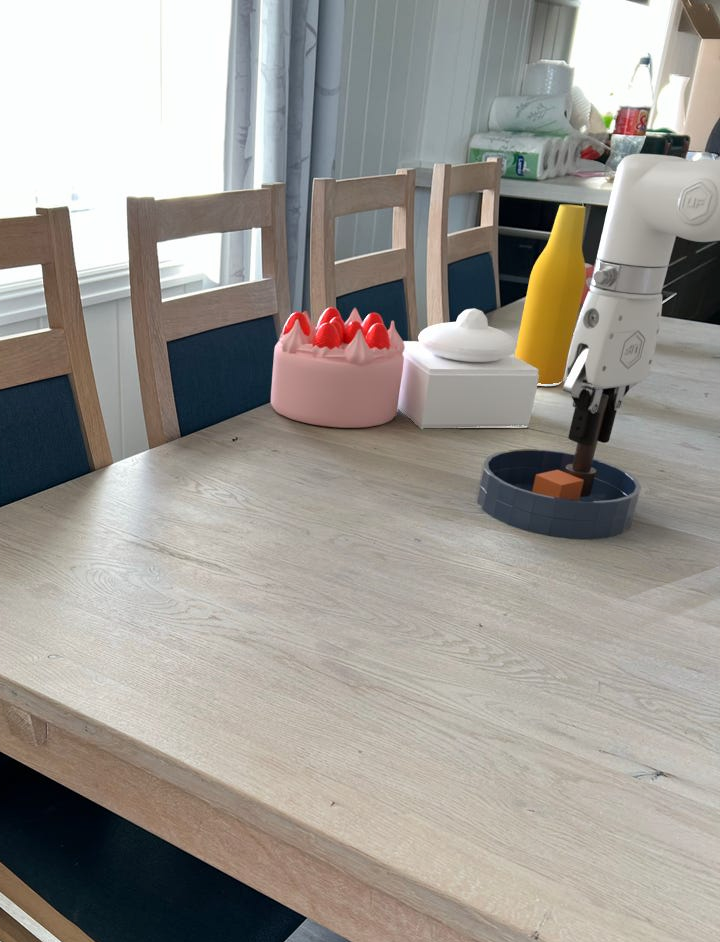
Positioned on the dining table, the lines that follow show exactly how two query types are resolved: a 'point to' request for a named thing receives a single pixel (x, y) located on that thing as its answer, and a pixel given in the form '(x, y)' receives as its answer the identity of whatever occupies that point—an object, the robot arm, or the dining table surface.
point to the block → (558, 485)
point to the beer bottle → (554, 298)
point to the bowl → (586, 518)
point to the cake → (337, 370)
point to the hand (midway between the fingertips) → (588, 439)
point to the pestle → (587, 455)
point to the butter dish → (466, 376)
